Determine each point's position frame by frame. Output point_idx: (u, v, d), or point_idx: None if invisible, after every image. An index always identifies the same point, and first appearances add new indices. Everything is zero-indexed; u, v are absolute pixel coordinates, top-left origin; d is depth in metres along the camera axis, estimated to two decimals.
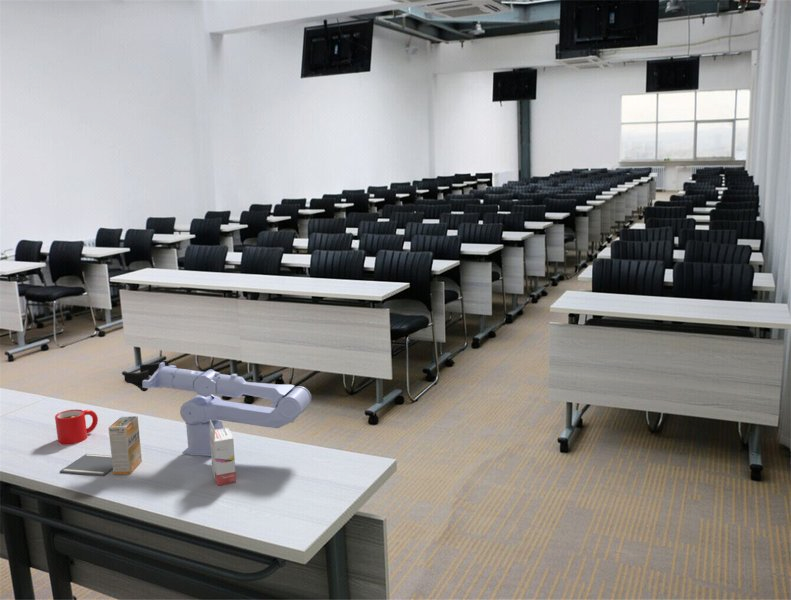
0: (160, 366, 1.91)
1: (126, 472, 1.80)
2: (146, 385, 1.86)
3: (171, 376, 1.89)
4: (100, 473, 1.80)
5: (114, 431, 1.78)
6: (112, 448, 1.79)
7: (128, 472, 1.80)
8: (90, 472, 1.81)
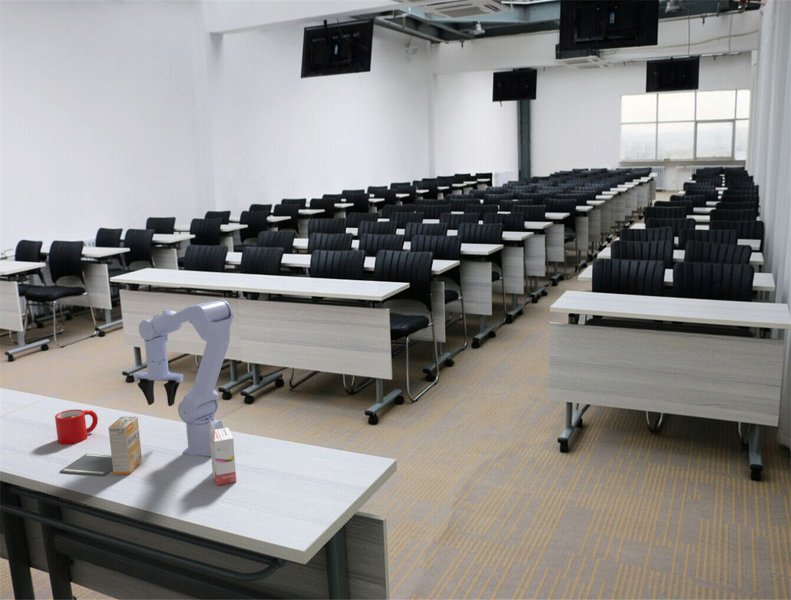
0: None
1: (126, 472, 1.80)
2: None
3: None
4: (100, 473, 1.80)
5: (114, 431, 1.78)
6: (112, 448, 1.79)
7: (128, 472, 1.80)
8: (90, 472, 1.81)
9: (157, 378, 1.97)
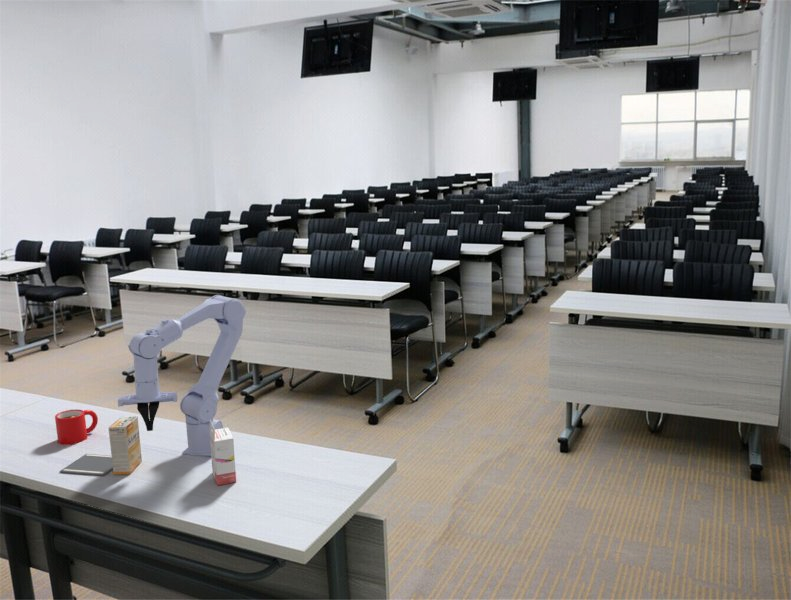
0: None
1: (126, 472, 1.80)
2: (118, 401, 1.79)
3: None
4: (100, 473, 1.80)
5: (114, 431, 1.78)
6: (112, 448, 1.79)
7: (128, 472, 1.80)
8: (90, 472, 1.81)
9: (152, 400, 1.79)
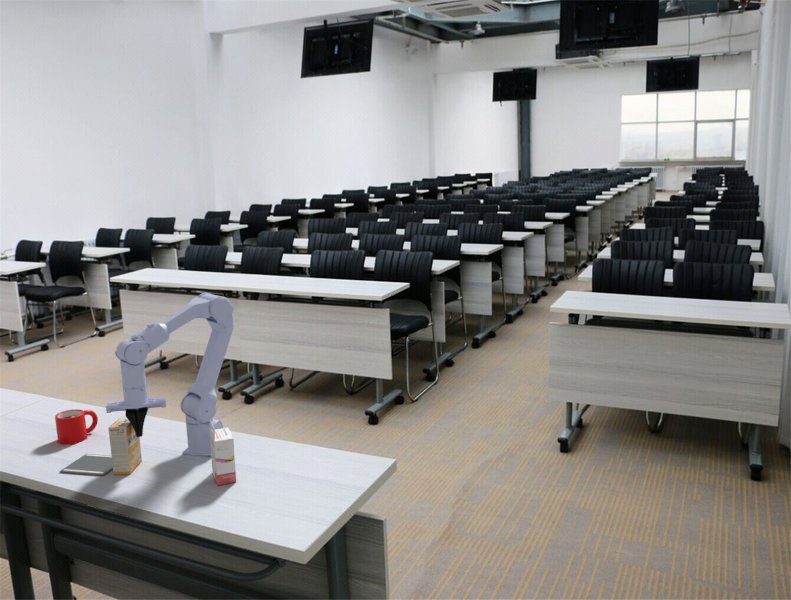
0: None
1: (126, 472, 1.80)
2: None
3: None
4: (100, 473, 1.80)
5: (114, 431, 1.78)
6: (112, 448, 1.79)
7: (128, 472, 1.80)
8: (90, 472, 1.81)
9: (140, 406, 1.77)
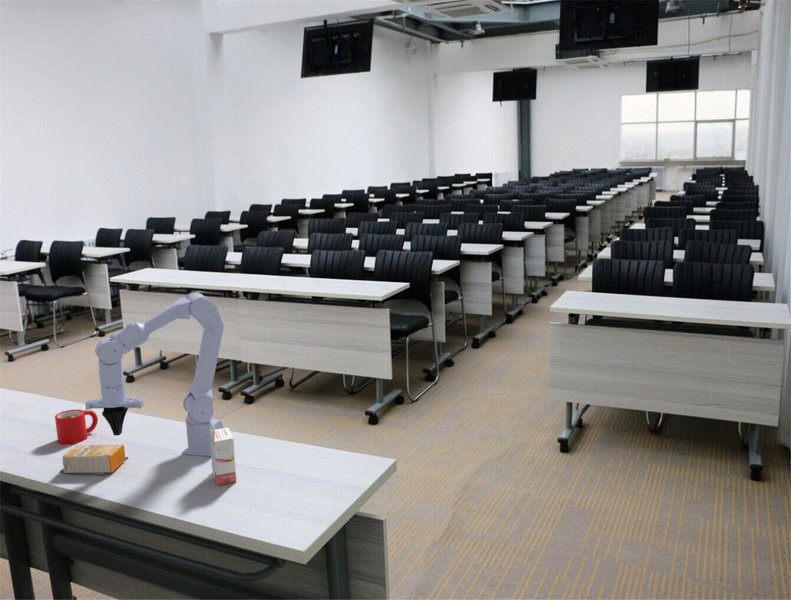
0: None
1: (109, 459, 1.79)
2: None
3: None
4: (100, 473, 1.80)
5: (67, 467, 1.80)
6: (85, 470, 1.80)
7: (109, 457, 1.79)
8: None
9: (115, 405, 1.78)
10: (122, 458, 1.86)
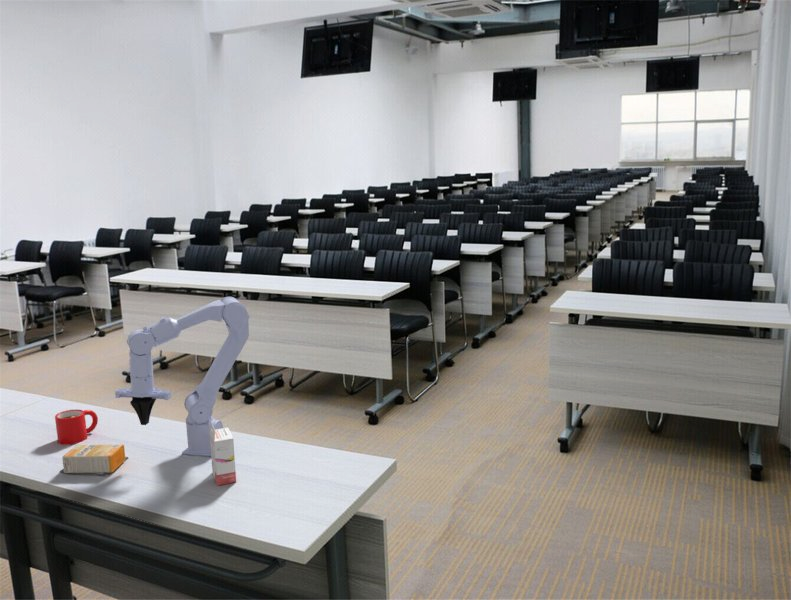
0: None
1: (109, 459, 1.79)
2: None
3: None
4: (100, 473, 1.80)
5: (67, 467, 1.80)
6: (85, 470, 1.80)
7: (109, 457, 1.79)
8: None
9: (142, 395, 1.82)
10: (122, 458, 1.86)
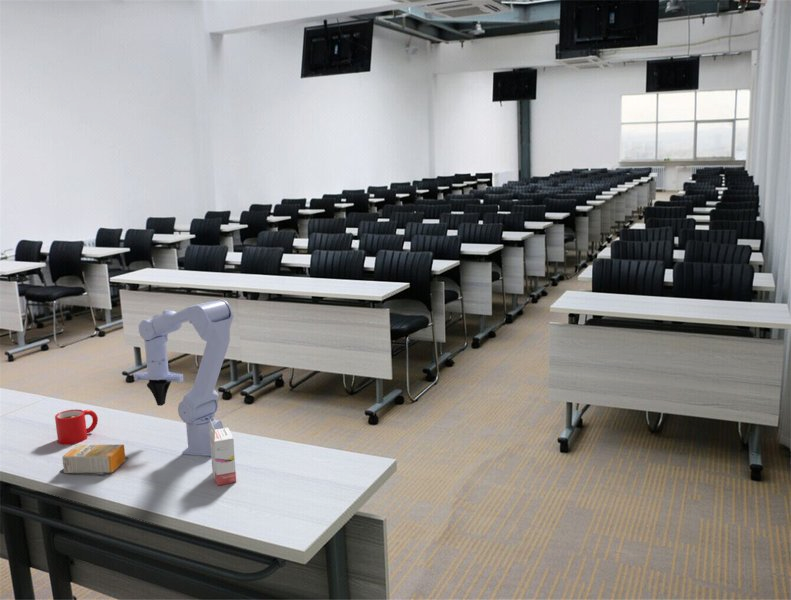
0: None
1: (109, 459, 1.79)
2: None
3: None
4: (100, 473, 1.80)
5: (67, 467, 1.80)
6: (85, 470, 1.80)
7: (109, 457, 1.79)
8: None
9: (157, 378, 1.97)
10: (122, 458, 1.86)
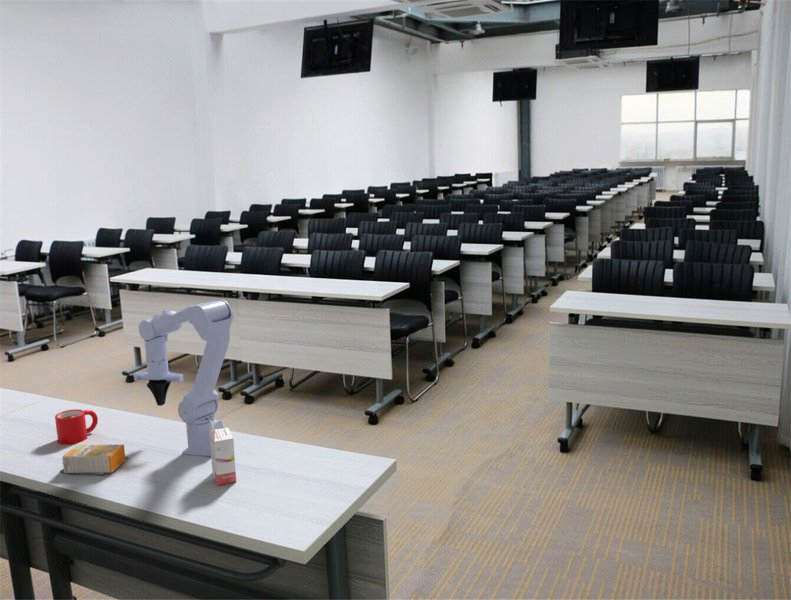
0: None
1: (109, 459, 1.79)
2: None
3: None
4: (100, 473, 1.80)
5: (67, 467, 1.80)
6: (85, 470, 1.80)
7: (109, 457, 1.79)
8: None
9: (157, 378, 1.97)
10: (122, 458, 1.86)
